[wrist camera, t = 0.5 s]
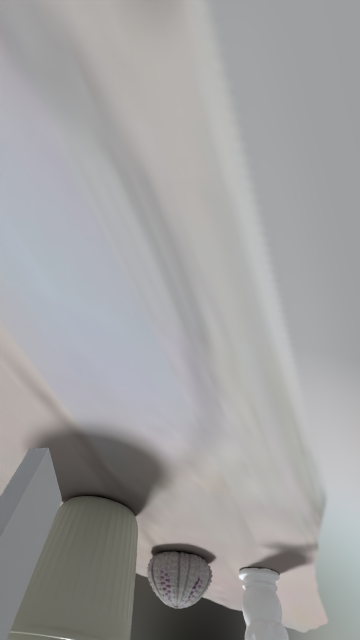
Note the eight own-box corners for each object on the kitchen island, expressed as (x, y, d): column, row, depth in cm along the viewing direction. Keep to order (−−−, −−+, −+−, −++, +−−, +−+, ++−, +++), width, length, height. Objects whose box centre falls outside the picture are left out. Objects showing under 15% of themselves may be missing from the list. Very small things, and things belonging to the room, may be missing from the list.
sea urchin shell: (144, 544, 65) (135, 595, 59) (210, 549, 63) (209, 603, 56) (155, 564, 73) (149, 610, 67) (214, 569, 71) (213, 618, 65)
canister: (30, 503, 56) (-47, 685, 40) (78, 472, 46) (1, 697, 30) (117, 534, 62) (80, 703, 46) (175, 513, 52) (154, 717, 36)
